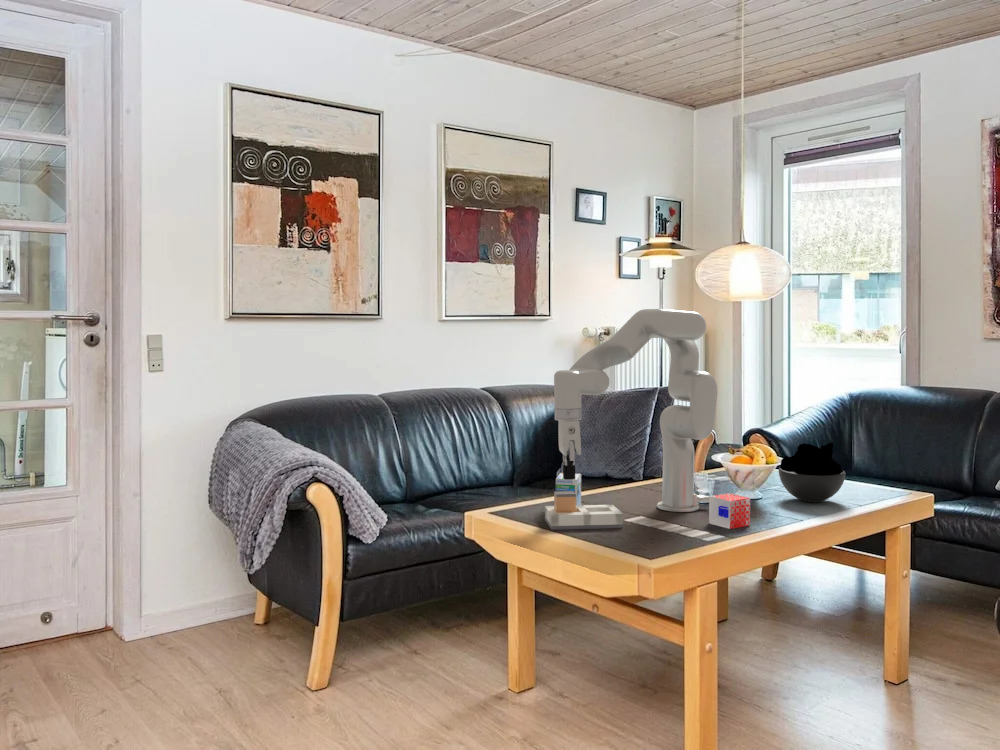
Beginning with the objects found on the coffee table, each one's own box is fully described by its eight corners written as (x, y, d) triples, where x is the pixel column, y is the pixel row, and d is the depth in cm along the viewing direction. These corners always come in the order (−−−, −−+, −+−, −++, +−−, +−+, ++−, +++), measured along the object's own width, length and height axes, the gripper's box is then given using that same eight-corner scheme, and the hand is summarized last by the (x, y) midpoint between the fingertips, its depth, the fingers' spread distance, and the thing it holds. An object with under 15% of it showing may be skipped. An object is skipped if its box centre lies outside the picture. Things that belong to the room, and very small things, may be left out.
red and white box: (749, 525, 245) (750, 497, 245) (729, 529, 241) (730, 500, 240) (728, 520, 252) (728, 493, 251) (708, 523, 248) (709, 496, 247)
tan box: (573, 518, 249) (573, 491, 248) (575, 522, 245) (575, 493, 244) (554, 519, 248) (554, 491, 248) (556, 522, 244) (556, 494, 244)
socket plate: (612, 518, 254) (612, 504, 254) (622, 527, 242) (622, 513, 242) (544, 519, 252) (544, 506, 252) (551, 529, 240) (551, 515, 240)
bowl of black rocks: (781, 506, 270) (782, 446, 268) (775, 494, 289) (776, 437, 288) (849, 509, 265) (851, 448, 264) (839, 496, 285) (840, 439, 283)
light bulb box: (577, 515, 258) (577, 479, 257) (555, 514, 259) (555, 478, 259) (581, 507, 269) (581, 473, 268) (559, 506, 270) (559, 472, 269)
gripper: (586, 417, 238) (587, 483, 239) (576, 410, 253) (577, 473, 254) (559, 418, 237) (560, 484, 238) (550, 411, 252) (551, 474, 253)
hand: (569, 478), depth 246 cm, fingers closed
